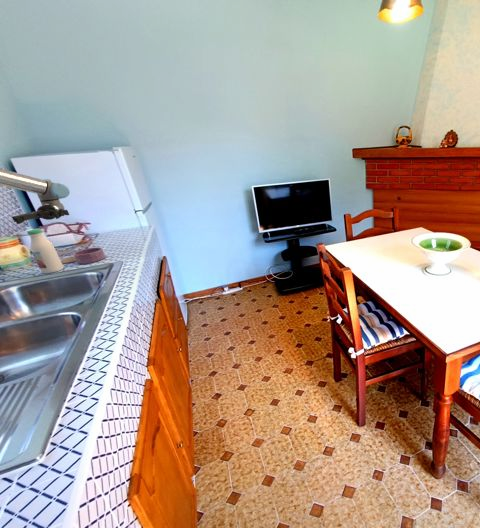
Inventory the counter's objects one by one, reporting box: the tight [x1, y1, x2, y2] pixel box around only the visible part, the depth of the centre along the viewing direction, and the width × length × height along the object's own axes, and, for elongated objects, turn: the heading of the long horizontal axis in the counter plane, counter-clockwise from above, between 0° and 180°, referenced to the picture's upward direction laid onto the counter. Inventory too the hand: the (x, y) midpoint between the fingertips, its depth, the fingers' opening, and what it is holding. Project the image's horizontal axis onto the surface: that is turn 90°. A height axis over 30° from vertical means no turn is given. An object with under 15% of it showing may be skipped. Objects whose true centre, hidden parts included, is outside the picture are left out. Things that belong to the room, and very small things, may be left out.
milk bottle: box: [26, 228, 64, 275], centre depth 138 cm, size 8×8×20 cm
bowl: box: [72, 246, 106, 265], centre depth 152 cm, size 12×12×5 cm
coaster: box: [60, 255, 76, 265], centre depth 155 cm, size 11×11×1 cm
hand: (36, 218), depth 140 cm, fingers open, 13 cm apart
